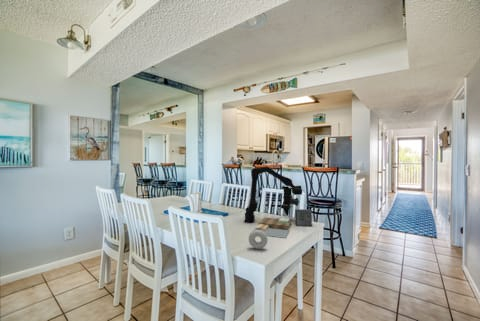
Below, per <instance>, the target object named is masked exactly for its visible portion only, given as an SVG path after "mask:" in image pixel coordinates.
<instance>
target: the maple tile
mask: <svg viewBox="0 0 480 321" xmlns="http://www.w3.org/2000/svg"><path fill="white" fill-rule="evenodd" d="M255 228H256V230H261V231H266V230H267V229H268V228H269V225H264V224H260V225H259V224H258V225H257V226H256V227H255Z"/></svg>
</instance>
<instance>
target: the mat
mask: <svg viewBox="0 0 480 321" xmlns="http://www.w3.org/2000/svg"><path fill="white" fill-rule="evenodd" d="M254 230H256V227H255V228H254V229H253V230H252V231H254ZM263 232H264V233H265V234H266V235H267V237H271V238H280V239H287V237H288V235H289V234H290V229H289V230H281V229H272V228H268V229H267V230H266V231H263Z"/></svg>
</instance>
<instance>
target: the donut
mask: <svg viewBox="0 0 480 321" xmlns="http://www.w3.org/2000/svg"><path fill="white" fill-rule="evenodd" d="M253 230H254V229H253ZM253 230H252V231H251V232H250V233H249V236H248V243H249V245H250V246H251V247H253V248H254V249H256V250H261V249H264V248H265V247H266V246H267V244H268V240H269V239H268V236H267V235H266V234H265V233H264V232H263V231H261V230H254V231H253ZM257 237H259V238H260V241H257V240H256V238H257Z"/></svg>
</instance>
